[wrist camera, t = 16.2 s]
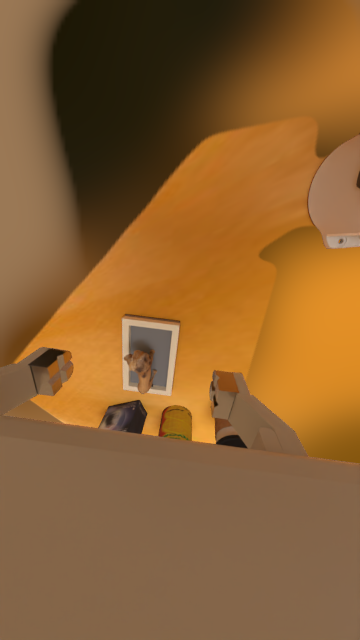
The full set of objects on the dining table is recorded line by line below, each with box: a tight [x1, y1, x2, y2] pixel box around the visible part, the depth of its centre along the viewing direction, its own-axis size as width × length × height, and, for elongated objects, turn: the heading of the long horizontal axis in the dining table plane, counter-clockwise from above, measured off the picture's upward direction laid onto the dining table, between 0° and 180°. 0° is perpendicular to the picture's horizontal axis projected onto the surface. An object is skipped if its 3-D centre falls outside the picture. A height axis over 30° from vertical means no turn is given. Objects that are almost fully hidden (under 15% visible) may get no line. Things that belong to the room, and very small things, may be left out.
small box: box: [98, 400, 147, 434], centre depth 51 cm, size 11×6×10 cm, turn 109°
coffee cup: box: [215, 418, 248, 449], centre depth 45 cm, size 8×8×15 cm
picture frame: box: [122, 314, 180, 396], centre depth 46 cm, size 13×21×2 cm, turn 174°
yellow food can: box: [158, 405, 192, 441], centre depth 50 cm, size 9×9×12 cm
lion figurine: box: [123, 349, 157, 394], centre depth 43 cm, size 15×5×9 cm, turn 8°
